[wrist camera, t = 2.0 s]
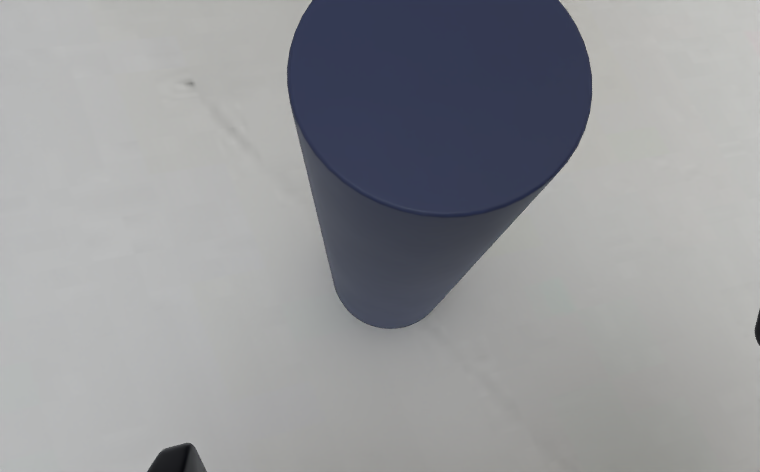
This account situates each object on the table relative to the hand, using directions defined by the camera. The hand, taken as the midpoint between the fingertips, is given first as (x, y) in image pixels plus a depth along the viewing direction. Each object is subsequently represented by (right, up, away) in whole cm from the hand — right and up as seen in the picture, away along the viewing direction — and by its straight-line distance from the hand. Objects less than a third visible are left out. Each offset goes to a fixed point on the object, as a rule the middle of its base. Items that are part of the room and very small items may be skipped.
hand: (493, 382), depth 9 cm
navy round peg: (-1, +1, +11) cm, 11 cm away
